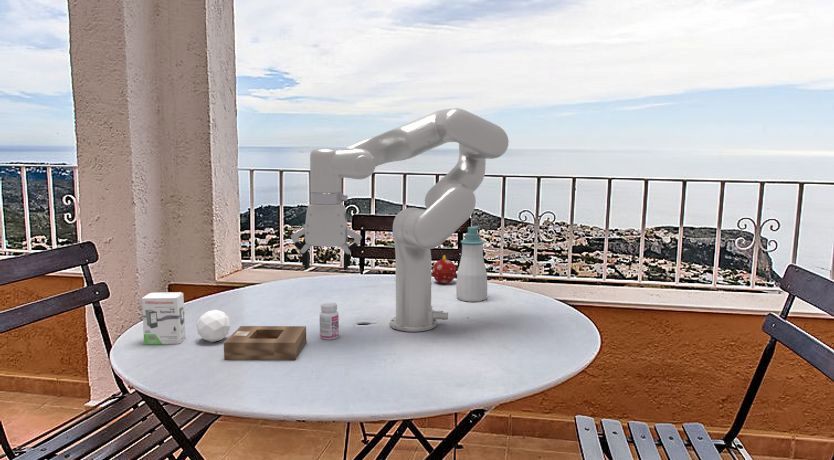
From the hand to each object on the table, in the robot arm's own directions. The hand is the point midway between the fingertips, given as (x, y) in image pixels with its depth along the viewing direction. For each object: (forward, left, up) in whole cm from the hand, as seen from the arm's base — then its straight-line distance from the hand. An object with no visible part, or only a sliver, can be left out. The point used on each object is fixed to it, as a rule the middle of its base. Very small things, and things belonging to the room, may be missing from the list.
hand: (326, 268), depth 139 cm
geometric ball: (+28, +3, -18) cm, 33 cm away
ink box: (+39, +4, -18) cm, 43 cm away
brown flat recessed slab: (+13, +10, -18) cm, 24 cm away
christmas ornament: (-31, -59, -18) cm, 69 cm away
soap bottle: (-39, -38, -18) cm, 58 cm away
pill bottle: (0, 0, -18) cm, 18 cm away
